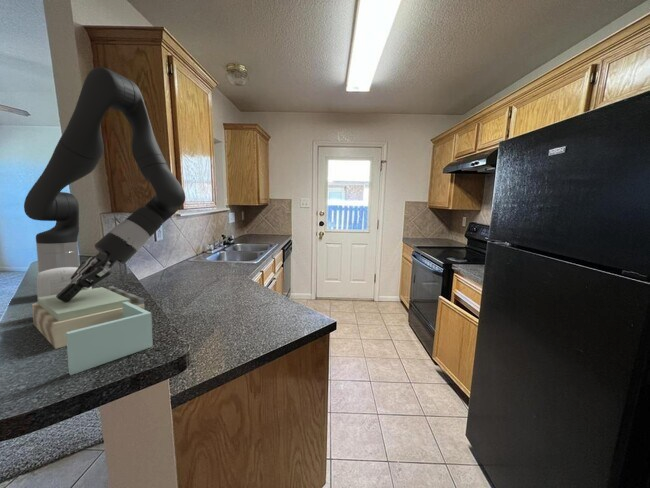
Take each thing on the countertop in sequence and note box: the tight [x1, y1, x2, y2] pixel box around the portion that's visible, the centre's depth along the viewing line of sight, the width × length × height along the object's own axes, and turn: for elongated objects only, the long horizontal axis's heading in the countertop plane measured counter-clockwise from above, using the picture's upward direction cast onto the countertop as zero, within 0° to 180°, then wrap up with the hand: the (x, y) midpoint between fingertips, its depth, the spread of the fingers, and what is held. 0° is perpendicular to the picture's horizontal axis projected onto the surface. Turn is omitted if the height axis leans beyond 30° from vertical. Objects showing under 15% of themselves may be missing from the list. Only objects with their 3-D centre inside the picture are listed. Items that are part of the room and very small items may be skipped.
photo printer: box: [36, 267, 93, 298], centre depth 68 cm, size 10×4×12 cm, turn 123°
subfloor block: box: [31, 285, 146, 350], centre depth 62 cm, size 20×15×6 cm
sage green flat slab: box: [36, 286, 130, 321], centre depth 61 cm, size 18×12×2 cm, turn 56°
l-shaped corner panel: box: [66, 302, 154, 376], centre depth 50 cm, size 12×12×8 cm
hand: (61, 300), depth 58 cm, fingers closed
